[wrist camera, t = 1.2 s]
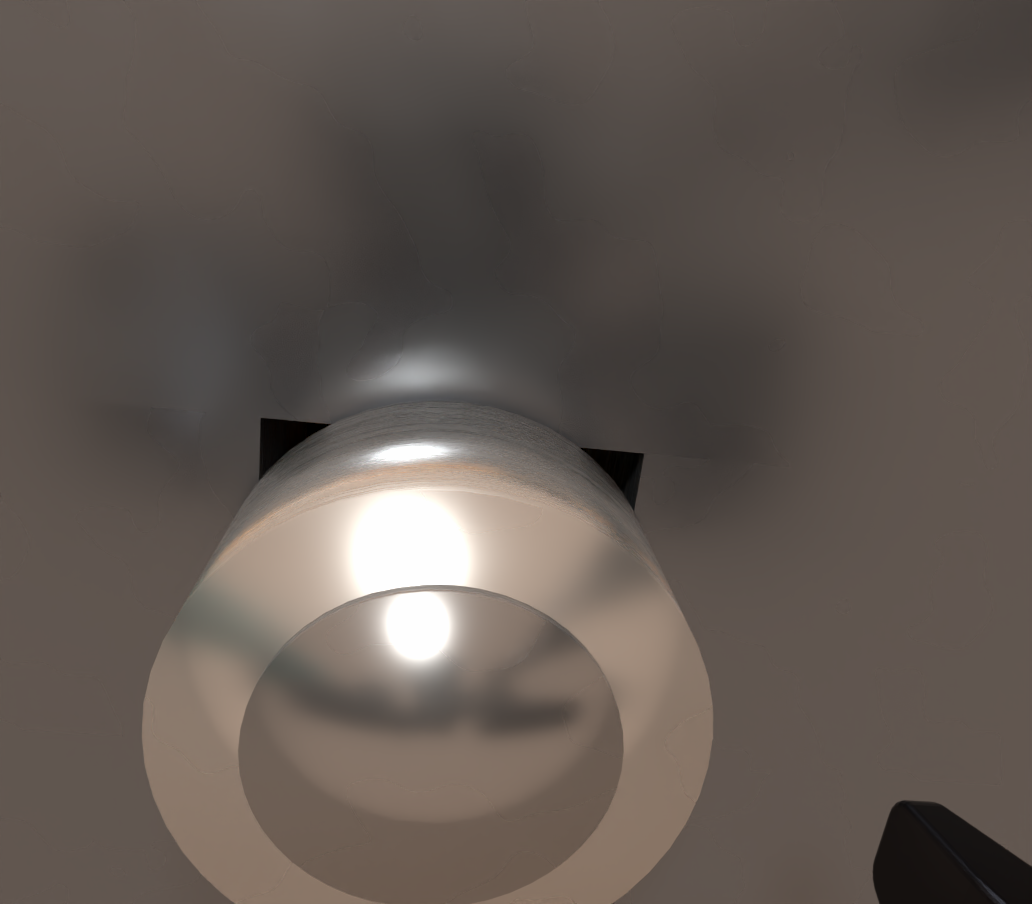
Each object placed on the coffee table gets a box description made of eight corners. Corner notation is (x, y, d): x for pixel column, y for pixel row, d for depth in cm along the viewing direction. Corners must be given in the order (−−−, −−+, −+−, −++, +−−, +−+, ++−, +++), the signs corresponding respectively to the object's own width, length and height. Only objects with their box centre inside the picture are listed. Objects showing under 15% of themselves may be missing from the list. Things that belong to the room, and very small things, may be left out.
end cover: (630, 351, 15) (772, 524, 8) (580, 648, 17) (662, 980, 10) (280, 314, 15) (129, 468, 8) (271, 626, 17) (142, 966, 10)
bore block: (1223, -102, 13) (1523, -195, 10) (864, 962, 21) (954, 1145, 17) (-337, -370, 11) (-737, -628, 7) (-126, 929, 18) (-275, 1132, 15)
